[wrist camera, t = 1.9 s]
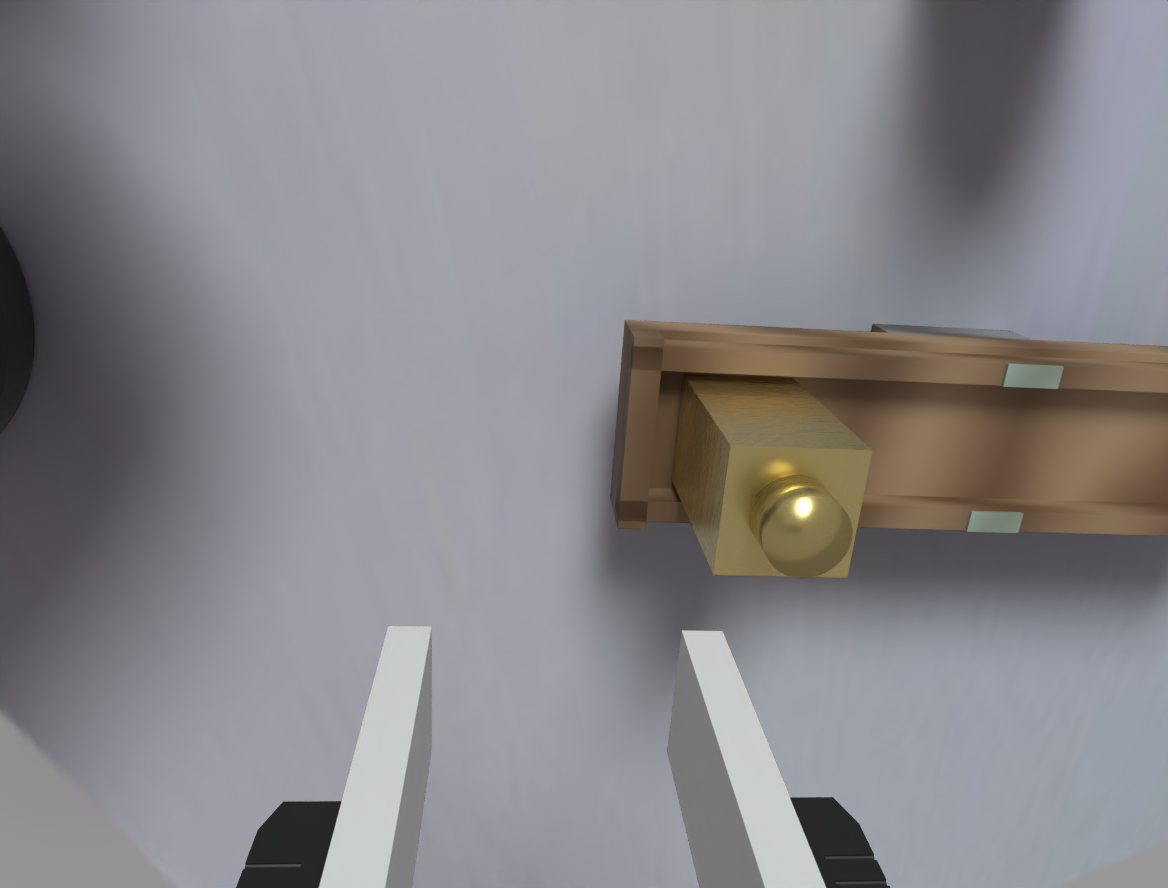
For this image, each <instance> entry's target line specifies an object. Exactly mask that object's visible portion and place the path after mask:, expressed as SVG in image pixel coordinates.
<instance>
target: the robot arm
mask: <svg viewBox="0 0 1168 888" xmlns="http://www.w3.org/2000/svg"><path fill="white" fill-rule="evenodd" d="M33 353H34V324H33V316H32V308H31V304H30V299H29V294H28V291H27V287H26V284H25V280H24V277H23V275H22V272H21V269H20V266H19V264H18V262H17V259H16V257H15V255H14V253H13V250H12V248H11V246H10V245H9V243H8V241H7V239H6V237H5V235H4V233H3V232H2V230H1V228H0V432H1V431H2V430H3V429H4V427H5V426H6V425H7V424H8V422H9V421H10V419H11V418H12V416H13V415H14V413H15V411H16V410H17V408H18V406H19V404H20V402H21V400H22V397H23V395H24V392H25V390H26V387H27V384H28V380H29V377H30V372H31V368H32V361H33ZM431 751H432V627H411V626H388V629H387V633H386V637H385V640H384V644H383V648H382V652H381V655H380V659H379V663H378V667H377V671H376V674H375V678H374V682H373V686H372V689H371V693H370V697H369V701H368V704H367V708H366V712H365V716H364V719H363V723H362V727H361V731H360V734H359V738H358V742H357V746H356V749H355V753H354V757H353V761H352V765H351V768H350V772H349V776H348V780H347V783H346V787H345V791H344V795H343V798H342V801H324V802H283V803H282V804H281V805H280V806H279V807H278V808H277V809H276V810H275V811H274V813H273V814H272V815H271V816H270V817H269V818H268V819H267V820H266V821H265V823H264V824H263V825H262V826H261V827H260V828H259V829H258V831H257V834H256V836H255V839H254V842H253V844H252V847H251V850H250V852H249V855H248V858H247V860H246V865H245V869H243V871H242V874H241V876H240V879H239V882H238V884H237V887H236V888H412V884H413V877H414V870H415V863H416V856H417V849H418V842H419V835H420V828H421V821H422V814H423V807H424V800H425V793H426V786H427V779H428V772H429V765H430V758H431ZM667 753H668V757H669V761H670V765H671V770H672V774H673V778H674V782H675V786H676V791H677V795H678V799H679V803H680V807H681V812H682V816H683V820H684V824H685V829H686V833H687V837H688V841H689V845H690V850H691V854H692V858H693V862H694V867H695V871H696V875H697V879H698V883H699V888H890V886H887V884H886V878H885V876H884V874H883V872H882V870H881V868H880V866H879V864H878V862H877V860H874V853H873V851H872V849H871V847H870V845H869V843H868V841H867V839H866V837H865V835H864V833H863V831H862V829H861V827H860V825H859V823H858V822H857V821H856V820H855V819H854V818H853V817H852V816H851V815H850V814H849V813H848V812H847V811H846V810H845V809H844V808H843V807H842V806H841V805H840V804H839V803H838V802H837V801H836V800H835V799H834V798H833V797H816V798H790V797H789V794H788V792H787V789H786V787H785V784H784V782H783V779H782V777H781V775H780V772H779V770H778V767H777V765H776V762H775V760H774V757H773V755H772V752H771V750H770V747H769V745H768V742H767V740H766V737H765V735H764V733H763V730H762V728H761V725H760V723H759V720H758V718H757V715H756V713H755V710H754V708H753V705H752V703H751V700H750V698H749V695H748V693H747V690H746V688H745V686H744V683H743V681H742V678H741V676H740V673H739V671H738V668H737V666H736V663H735V661H734V658H733V656H732V653H731V651H730V648H729V646H728V643H727V641H726V639H725V636H724V634H723V631H682V633H681V642H680V650H679V658H678V666H677V674H676V682H675V691H674V699H673V707H672V715H671V723H670V731H669V739H668V748H667Z"/></svg>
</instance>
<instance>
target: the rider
mask: <svg viewBox="0 0 1168 888" xmlns="http://www.w3.org/2000/svg"><path fill="white" fill-rule="evenodd" d="M872 451H873V450H872V449H871V448H869V447H868V446H867V445H866V444H865V443H864V442H863V441H862V440H861V439H860V438H858V437H857V436H856V435H855V434H854V433H853V432H852V431H851V430H850V429H849V428H847V427H846V426H845V425H844V424H843V423H842V422H841V421H840V420H839V419H837V418H836V417H835V416H834V415H833V414H832V413H831V412H830V411H829V410H828V409H826V408H825V407H824V406H823V405H822V404H821V403H820V402H819V401H818V400H817V399H815V398H814V397H813V396H812V395H811V394H810V393H809V392H808V391H807V390H806V389H804V388H803V387H802V386H801V385H800V384H799V383H798V382H797V381H796V380H795V379H773V378H750V377H727V376H703V375H683V383H682V392H681V401H680V410H679V419H678V428H677V437H676V446H675V455H674V464H673V474H672V481H673V484H674V486H675V488H676V490H677V493H678V495H679V497H680V500H681V502H682V504H683V507H684V509H685V511H686V514H687V516H688V518H689V520H690V523H691V525H692V527H693V530H694V532H695V534H696V537H697V539H698V541H699V543H700V546H701V548H702V550H703V553H704V555H705V557H706V560H707V562H708V564H709V566H710V569H711V571H712V573H713V575H738V576H785V577H795V578H810V577H832V578H847V577H848V572H849V567H850V562H851V557H852V552H853V547H854V542H855V537H856V532H857V527H858V522H859V516H860V511H861V506H862V501H863V496H864V491H865V486H866V481H867V476H868V471H869V466H870V461H871V456H872Z"/></svg>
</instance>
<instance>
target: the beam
mask: <svg viewBox="0 0 1168 888" xmlns="http://www.w3.org/2000/svg"><path fill="white" fill-rule="evenodd" d="M683 375H703V376H727V377H750V378H773V379H795V380H796V381H797V382H798V383H799V384H800V385H801V386H802V387H803V388H804V389H806V390H807V391H808V392H809V393H810V394H811V395H812V396H813V397H814V398H815V399H817V400H818V401H819V402H820V403H821V404H822V405H823V406H824V407H825V408H826V409H828V410H829V411H830V412H831V413H832V414H833V415H834V416H835V417H836V418H837V419H839V420H840V421H841V422H842V423H843V424H844V425H845V426H846V427H847V428H849V429H850V430H851V431H852V432H853V433H854V434H855V435H856V436H857V437H858V438H860V439H861V440H862V441H863V442H864V443H865V444H866V445H867V446H868V447H869V448H871V449H872V450H873V451H872V456H871V461H870V466H869V471H868V476H867V481H866V486H865V491H864V496H863V501H862V506H861V511H860V516H859V522H858V527H863V528H900V529H937V530H966V531H967V532H996V533H1018V532H1048V533H1085V534H1122V535H1159V536H1168V346H1149V345H1129V344H1108V343H1088V342H1067V341H1047V340H1030V339H1028V338H1025V337H1023V336H1020V335H1018V334H1015V333H1013V332H1011V331H1002V330H982V329H962V328H942V327H922V326H902V325H882V324H873V327H872V332H863V331H842V330H822V329H801V328H781V327H760V326H740V325H720V324H699V323H679V322H658V321H638V320H625V325H624V337H623V349H622V361H621V373H620V385H619V397H618V410H617V422H616V434H615V446H614V458H613V470H612V482H611V494H610V498H611V503H612V507H613V511H614V515H615V519H616V523H617V527H618V528H619V529H645V528H646V522H677V523H690V520H689V518H688V516H687V514H686V511H685V509H684V507H683V504H682V502H681V500H680V497H679V495H678V493H677V490H676V488H675V486H674V484H673V481H672V474H673V464H674V455H675V446H676V437H677V428H678V419H679V410H680V401H681V392H682V383H683Z"/></svg>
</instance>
